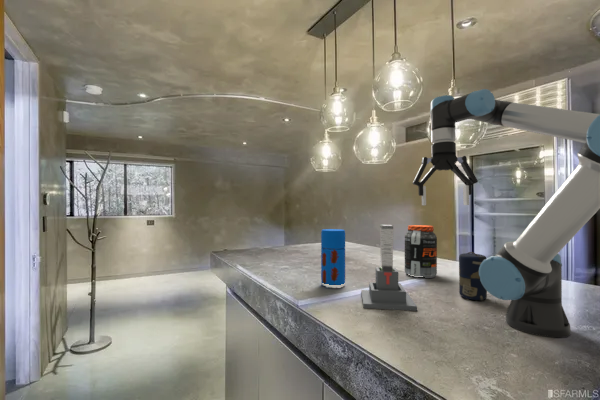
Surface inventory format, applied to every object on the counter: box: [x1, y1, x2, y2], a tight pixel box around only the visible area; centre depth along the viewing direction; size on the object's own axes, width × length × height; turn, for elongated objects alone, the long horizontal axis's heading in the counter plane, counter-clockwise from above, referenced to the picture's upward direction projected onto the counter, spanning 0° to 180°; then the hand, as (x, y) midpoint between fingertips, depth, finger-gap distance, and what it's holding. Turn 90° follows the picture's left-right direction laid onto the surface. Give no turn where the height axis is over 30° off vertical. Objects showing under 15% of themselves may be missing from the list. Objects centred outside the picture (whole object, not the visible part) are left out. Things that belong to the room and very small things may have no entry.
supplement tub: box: [404, 224, 438, 279], centre depth 159 cm, size 16×16×26 cm
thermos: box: [320, 228, 346, 285], centre depth 138 cm, size 11×11×25 cm
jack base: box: [360, 266, 418, 312], centre depth 115 cm, size 18×18×13 cm
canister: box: [458, 251, 488, 301], centre depth 120 cm, size 10×10×18 cm
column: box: [379, 224, 394, 271], centre depth 115 cm, size 6×4×22 cm
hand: (445, 205), depth 103 cm, fingers open, 13 cm apart
